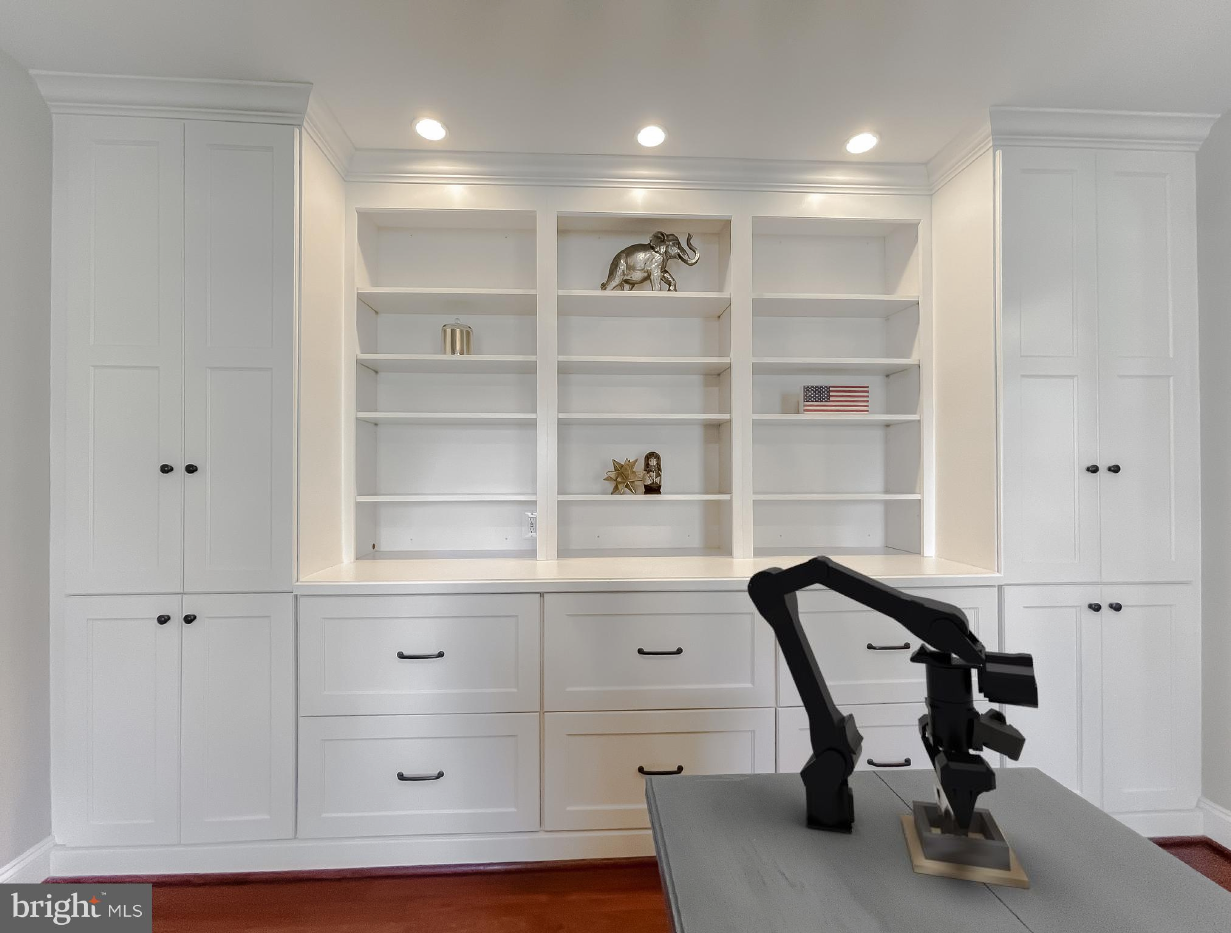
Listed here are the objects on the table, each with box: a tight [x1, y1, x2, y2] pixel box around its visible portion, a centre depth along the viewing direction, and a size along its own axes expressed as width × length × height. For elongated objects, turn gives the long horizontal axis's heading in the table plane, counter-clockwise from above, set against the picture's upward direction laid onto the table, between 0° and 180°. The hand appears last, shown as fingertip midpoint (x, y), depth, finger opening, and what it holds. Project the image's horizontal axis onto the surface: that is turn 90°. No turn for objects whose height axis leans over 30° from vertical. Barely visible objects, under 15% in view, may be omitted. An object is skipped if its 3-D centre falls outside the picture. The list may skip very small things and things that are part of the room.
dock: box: [900, 800, 1030, 890], centre depth 84 cm, size 13×13×4 cm
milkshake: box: [932, 775, 968, 837], centre depth 84 cm, size 4×5×10 cm
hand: (956, 811), depth 84 cm, fingers open, 9 cm apart
